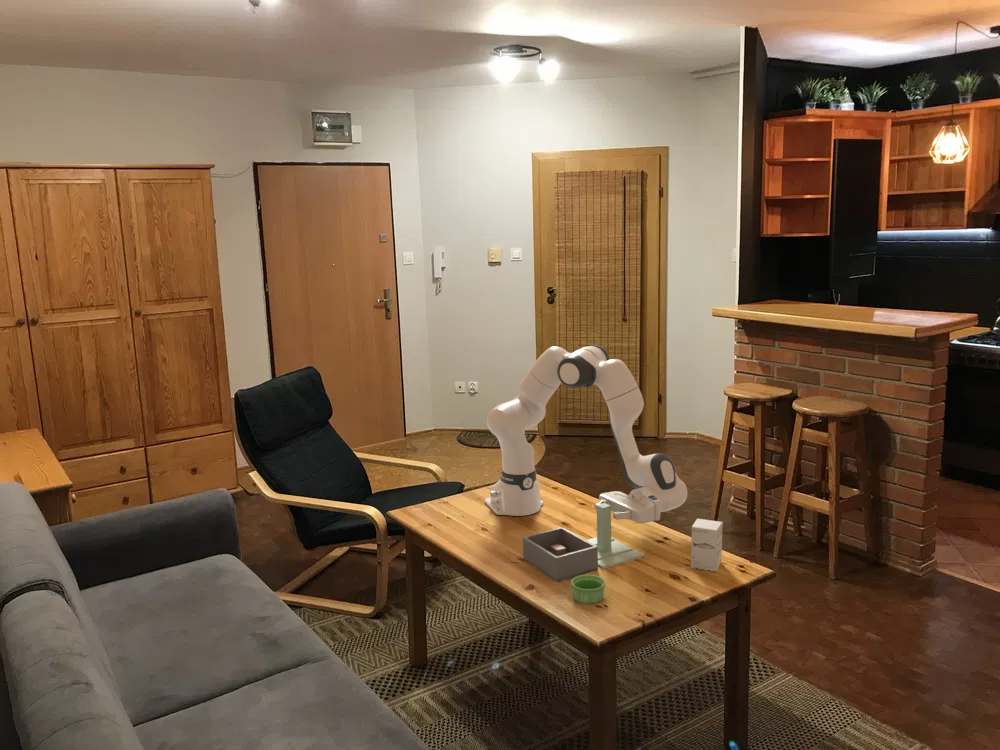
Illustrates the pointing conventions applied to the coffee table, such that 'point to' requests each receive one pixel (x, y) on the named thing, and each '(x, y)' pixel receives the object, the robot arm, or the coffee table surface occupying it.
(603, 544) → the grooved base with post
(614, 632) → the coffee table surface
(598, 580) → the ramekin
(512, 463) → the robot arm
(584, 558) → the tub
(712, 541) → the supplement box
